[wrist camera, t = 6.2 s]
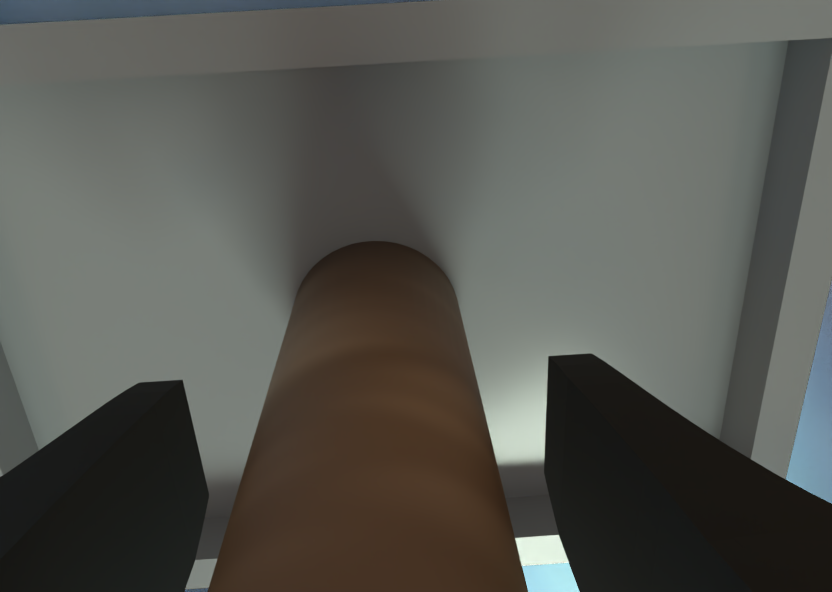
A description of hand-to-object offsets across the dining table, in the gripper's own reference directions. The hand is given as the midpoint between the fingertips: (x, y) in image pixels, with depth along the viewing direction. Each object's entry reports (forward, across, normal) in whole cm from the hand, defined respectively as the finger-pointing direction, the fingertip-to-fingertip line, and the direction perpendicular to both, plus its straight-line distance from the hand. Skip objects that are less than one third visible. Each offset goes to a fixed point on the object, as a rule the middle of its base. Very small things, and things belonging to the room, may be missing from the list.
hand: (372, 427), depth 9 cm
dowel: (+4, 0, 0) cm, 4 cm away
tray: (+4, 0, 0) cm, 4 cm away
